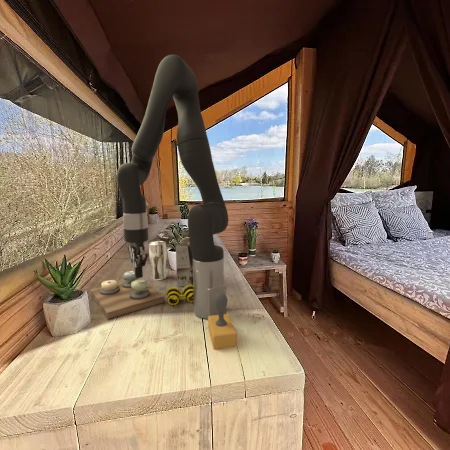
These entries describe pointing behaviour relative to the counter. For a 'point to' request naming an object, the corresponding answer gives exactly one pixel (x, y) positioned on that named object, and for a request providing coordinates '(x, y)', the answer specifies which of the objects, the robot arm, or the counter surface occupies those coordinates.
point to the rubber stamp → (221, 325)
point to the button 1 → (109, 285)
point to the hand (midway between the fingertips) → (138, 277)
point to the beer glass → (158, 259)
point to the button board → (125, 299)
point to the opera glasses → (175, 292)
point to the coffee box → (184, 264)
